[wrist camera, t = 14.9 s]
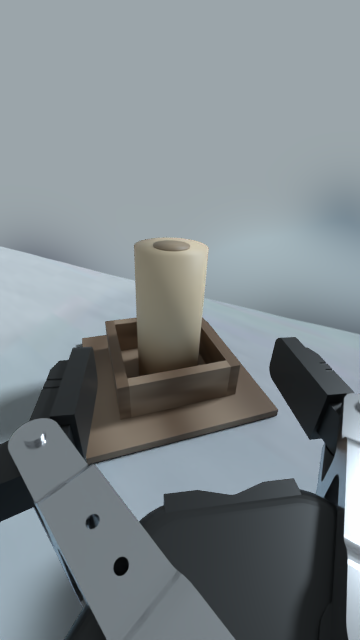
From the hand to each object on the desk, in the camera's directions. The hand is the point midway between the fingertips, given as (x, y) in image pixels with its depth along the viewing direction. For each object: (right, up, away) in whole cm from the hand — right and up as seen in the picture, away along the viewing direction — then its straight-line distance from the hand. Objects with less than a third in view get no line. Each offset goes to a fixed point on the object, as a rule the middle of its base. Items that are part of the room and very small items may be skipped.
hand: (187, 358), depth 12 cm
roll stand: (-2, -3, +13) cm, 14 cm away
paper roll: (-1, -3, +13) cm, 13 cm away
